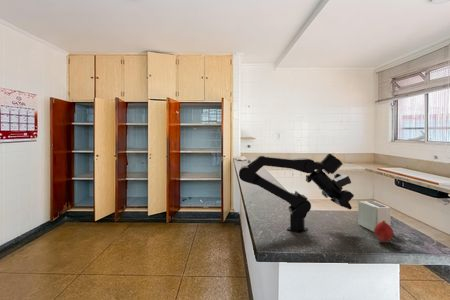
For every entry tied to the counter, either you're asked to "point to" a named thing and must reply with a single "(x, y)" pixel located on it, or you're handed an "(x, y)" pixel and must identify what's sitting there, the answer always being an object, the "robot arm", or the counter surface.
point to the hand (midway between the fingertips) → (350, 208)
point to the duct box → (381, 212)
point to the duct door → (367, 215)
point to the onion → (383, 231)
